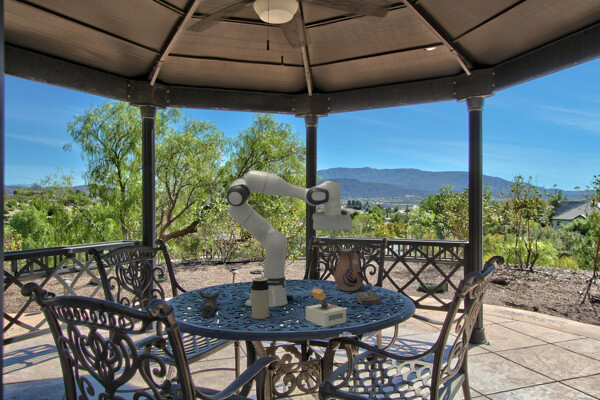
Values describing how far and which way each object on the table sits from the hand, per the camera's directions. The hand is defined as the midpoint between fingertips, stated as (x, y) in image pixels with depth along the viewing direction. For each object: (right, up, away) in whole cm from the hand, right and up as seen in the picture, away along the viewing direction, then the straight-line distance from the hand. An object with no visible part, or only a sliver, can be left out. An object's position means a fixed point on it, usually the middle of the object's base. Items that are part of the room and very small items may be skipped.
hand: (332, 239), depth 202 cm
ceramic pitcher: (+12, -36, +43) cm, 57 cm away
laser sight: (-62, -36, -6) cm, 72 cm away
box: (+20, -36, +15) cm, 44 cm away
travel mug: (-36, -35, -17) cm, 53 cm away
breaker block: (-5, -35, -24) cm, 43 cm away
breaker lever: (-5, -28, -24) cm, 37 cm away
